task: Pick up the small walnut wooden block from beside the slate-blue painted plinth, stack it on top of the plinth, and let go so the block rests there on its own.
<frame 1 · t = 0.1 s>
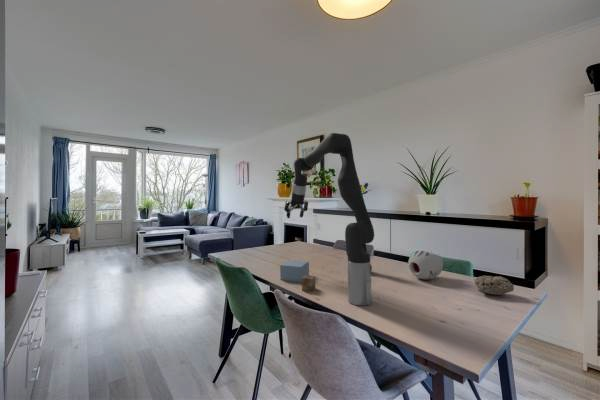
hand: (294, 217, 163), 31 cm above the table, tool tilted 20°, fingers open, 8 cm apart
decorative object: (427, 278, 143), on the table
power drill: (357, 270, 160), on the table
slate-blue plinth: (295, 277, 148), on the table
pumice stone: (493, 295, 119), on the table
walnut block: (308, 289, 130), on the table
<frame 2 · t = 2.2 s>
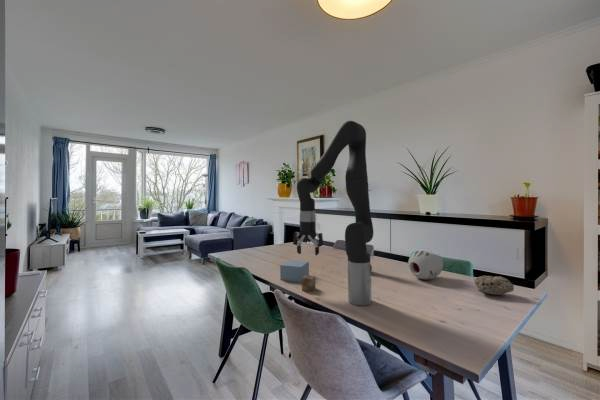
hand: (308, 254, 129), 17 cm above the table, tool pointing down, fingers open, 8 cm apart
nothing on the table moved.
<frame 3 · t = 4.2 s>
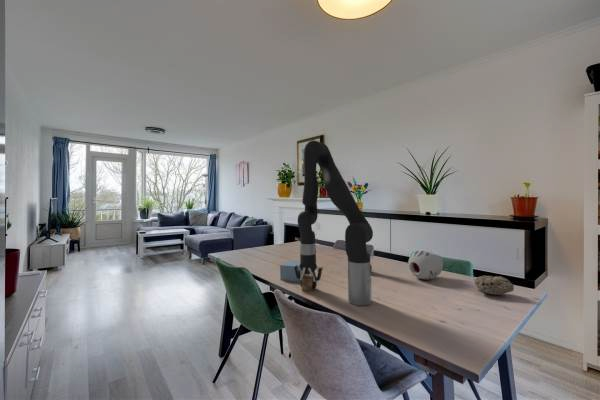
hand: (308, 287, 130), 1 cm above the table, tool pointing down, fingers closed on walnut block, 5 cm apart
walnut block: (308, 289, 130), on the table, touching gripper
everything else where it was.
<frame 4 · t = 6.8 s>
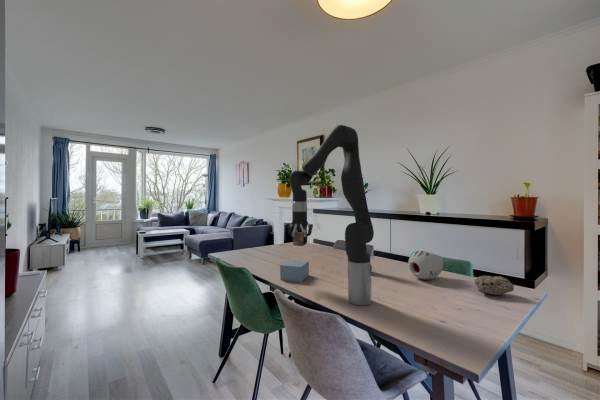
hand: (299, 243, 139), 20 cm above the table, tool pointing down, fingers closed on walnut block, 5 cm apart
walnut block: (299, 244, 139), point 20 cm above the table, touching gripper
everything else where it was.
when the fingers open (10 cm above the table, at t = 9.6 s): walnut block drops 2 cm, point 8 cm above the table.
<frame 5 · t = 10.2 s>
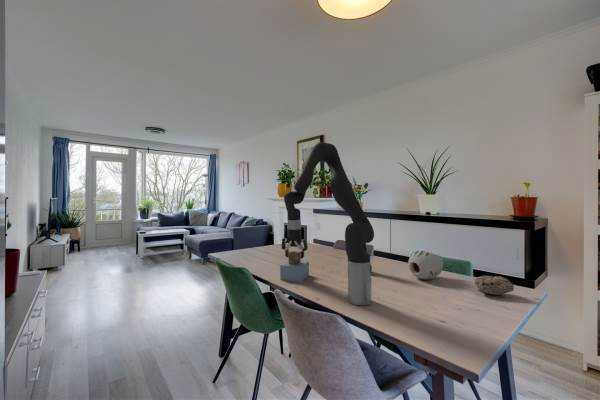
hand: (294, 257, 148), 11 cm above the table, tool pointing down, fingers open, 8 cm apart
walnut block: (294, 263, 148), point 8 cm above the table
everything else where it was.
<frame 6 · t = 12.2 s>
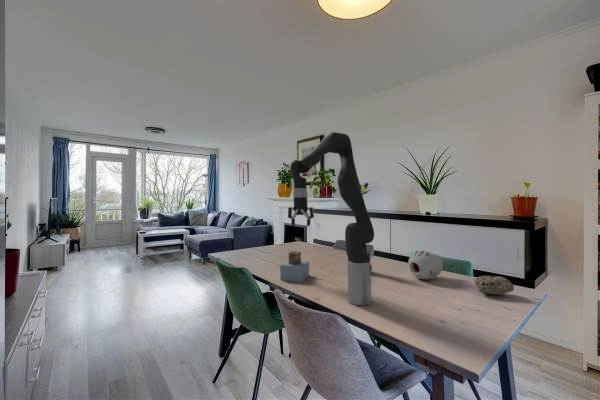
hand: (300, 225, 150), 28 cm above the table, tool pointing down, fingers open, 8 cm apart
nothing on the table moved.
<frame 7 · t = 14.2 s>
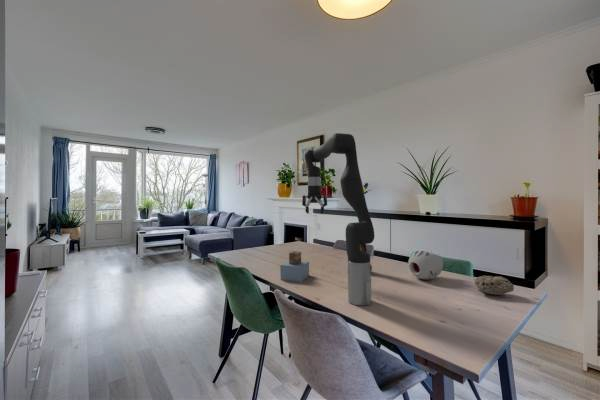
hand: (314, 213, 156), 34 cm above the table, tool pointing down, fingers open, 8 cm apart
slate-blue plinth: (295, 277, 149), on the table, touching walnut block
walnut block: (295, 263, 148), point 8 cm above the table, touching slate-blue plinth
everything else where it was.
at the end: walnut block inside the target area on the slate-blue plinth (0.3 cm from its centre), point 8.0 cm above the slate-blue plinth's base; the gripper is holding nothing; walnut block tilted 0° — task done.
